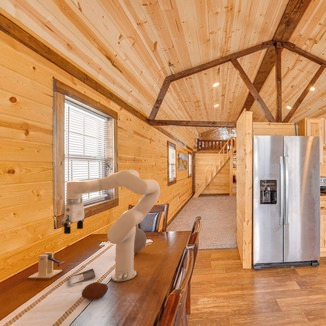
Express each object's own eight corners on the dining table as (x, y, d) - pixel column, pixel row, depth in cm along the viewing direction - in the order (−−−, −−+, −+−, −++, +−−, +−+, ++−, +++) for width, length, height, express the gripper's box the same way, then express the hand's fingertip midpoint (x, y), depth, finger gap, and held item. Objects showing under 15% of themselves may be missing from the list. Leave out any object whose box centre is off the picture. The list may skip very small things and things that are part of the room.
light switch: (93, 271, 138) (69, 280, 130) (93, 268, 138) (68, 277, 130) (95, 278, 130) (69, 288, 122) (95, 274, 129) (69, 284, 122)
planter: (146, 250, 175) (146, 225, 176) (146, 253, 169) (146, 227, 169) (118, 253, 168) (119, 228, 168) (117, 257, 161) (117, 230, 162)
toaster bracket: (62, 272, 138) (62, 251, 138) (49, 279, 129) (49, 257, 129) (42, 272, 138) (42, 251, 138) (27, 279, 129) (28, 256, 129)
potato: (106, 300, 110) (106, 284, 110) (79, 306, 105) (79, 289, 105) (108, 291, 118) (108, 276, 118) (83, 296, 113) (83, 281, 113)
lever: (65, 264, 136) (67, 260, 136) (58, 267, 131) (60, 264, 131) (46, 256, 136) (48, 252, 136) (39, 259, 131) (40, 255, 131)
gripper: (69, 204, 125) (68, 235, 125) (91, 199, 143) (90, 227, 142) (55, 204, 125) (54, 235, 125) (78, 199, 142) (78, 227, 142)
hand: (73, 231), depth 134 cm, fingers open, 9 cm apart
